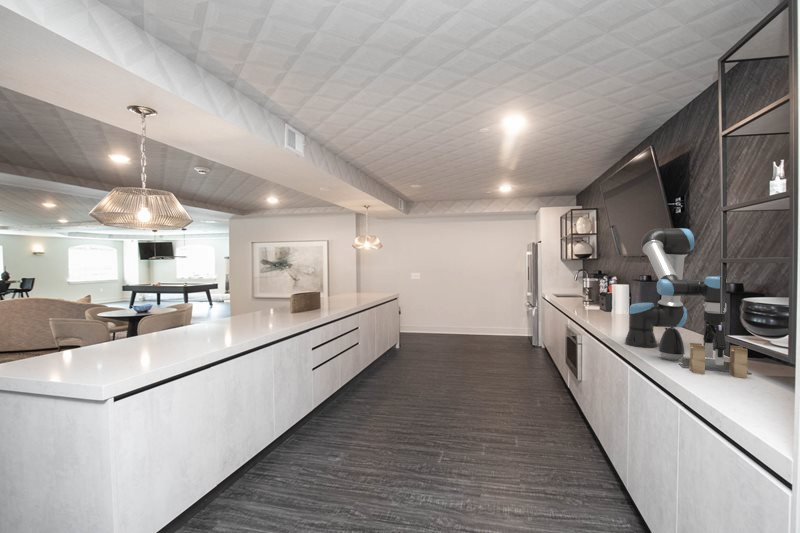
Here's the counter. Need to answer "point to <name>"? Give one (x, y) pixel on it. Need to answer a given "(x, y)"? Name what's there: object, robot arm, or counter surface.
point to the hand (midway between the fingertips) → (713, 361)
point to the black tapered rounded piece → (671, 345)
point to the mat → (710, 369)
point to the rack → (736, 360)
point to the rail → (709, 364)
